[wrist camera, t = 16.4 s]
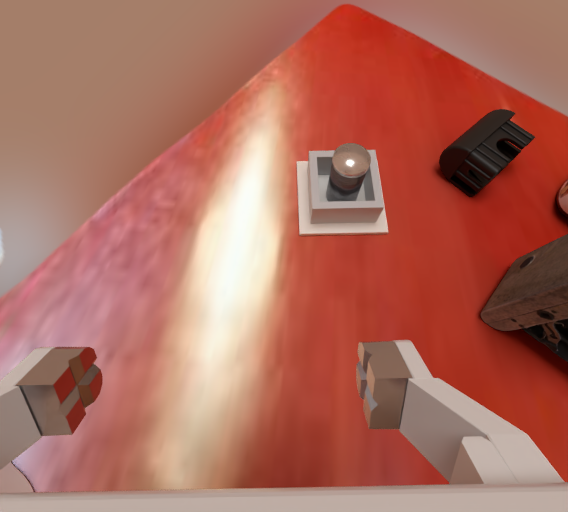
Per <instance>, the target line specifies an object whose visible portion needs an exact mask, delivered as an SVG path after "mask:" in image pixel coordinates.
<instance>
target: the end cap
mask: <svg viewBox="0 0 568 512" xmlns="http://www.w3.org/2000/svg"><path fill="white" fill-rule="evenodd" d="M514 114H515V113H514V112H512V111H509V110H504V109H499V110H494V111H492V112H489V113H488V114H487V115H485V116H484V117H483V118H482V119H480V120H479V121H478V122H477V123H476V124H475V125H473V126H472V127H471V128H470V129H469V130H467V131H466V132H465V133H464V134H463V135H461V136H460V137H459V138H458V139H457V140H456V141H454V142H453V143H452V144H451V145H450V146H448V147H447V148H446V149H445V150H444V151H443V152H442V154H441V156H440V160H439V164H440V168H441V171H442V172H443V174H444V175H445V176H446V178H447V179H448V180H449V182H451V183H452V184H453V185H455V186H456V187H457V188H458V189H460V190H461V191H462V192H463V193H465V194H466V195H467V196H469V197H473V196H475V195H476V194H477V193H478V192H479V191H480V190H481V189H482V188H483V187H484V186H485V185H487V184H488V183H489V182H490V181H491V180H492V179H493V178H494V177H495V176H496V175H497V174H498V173H499V172H501V171H502V170H503V169H504V168H505V167H506V166H507V165H508V164H509V163H510V162H511V161H512V160H513V159H514V158H515V157H516V156H517V155H518V154H519V153H520V152H521V150H522V149H523V148H524V147H525V146H527V145H528V144H529V143H530V142H531V141H532V140H533V139H534V138H535V136H533V135H532V134H530V133H528V132H527V131H525V130H524V129H522V128H521V127H519V126H518V125H516V124H515V123H513V122H512V121H510V119H511V118H512V117H513V116H514ZM508 141H509V142H511V143H512V144H514V145H515V146H517V147H518V148H520V149H521V150H519V149H518V148H516V147H515V146H514V145H512V144H511V143H509V142H508Z"/></svg>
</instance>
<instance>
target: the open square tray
mask: <svg viewBox="0 0 568 512" xmlns="http://www.w3.org/2000/svg"><path fill="white" fill-rule="evenodd" d="M367 151H368V152H369V154H370V156H371V163H370V166H369V168H368V170H367V173H366V175H365V178H364V181H363V183H362V186H361V189H360V191H359V194H358V197H357V199H356V201H333V202H328V201H327V198H326V191H327V186H328V181H329V176H330V171H331V166H332V159H333V154H334V152H335V151H309V156H308V161H297V186H298V211H299V236H312V235H364V234H387V233H388V226H387V220H386V214H385V207H384V201H383V194H382V188H381V182H380V175H379V169H378V162H377V159H376V152H375V150H367Z"/></svg>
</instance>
